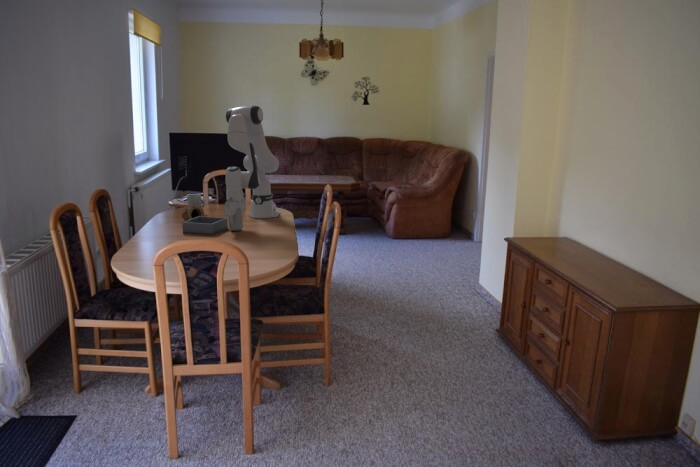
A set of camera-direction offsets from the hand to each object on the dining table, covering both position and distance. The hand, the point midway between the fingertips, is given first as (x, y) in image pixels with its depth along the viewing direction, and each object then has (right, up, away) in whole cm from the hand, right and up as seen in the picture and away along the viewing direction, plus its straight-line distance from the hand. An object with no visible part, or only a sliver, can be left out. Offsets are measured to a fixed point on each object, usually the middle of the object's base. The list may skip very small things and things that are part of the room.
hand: (235, 221), depth 311 cm
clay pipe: (-31, 0, +26) cm, 40 cm away
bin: (-17, -5, +1) cm, 18 cm away
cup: (-36, +6, +49) cm, 61 cm away
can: (0, -5, +1) cm, 5 cm away
